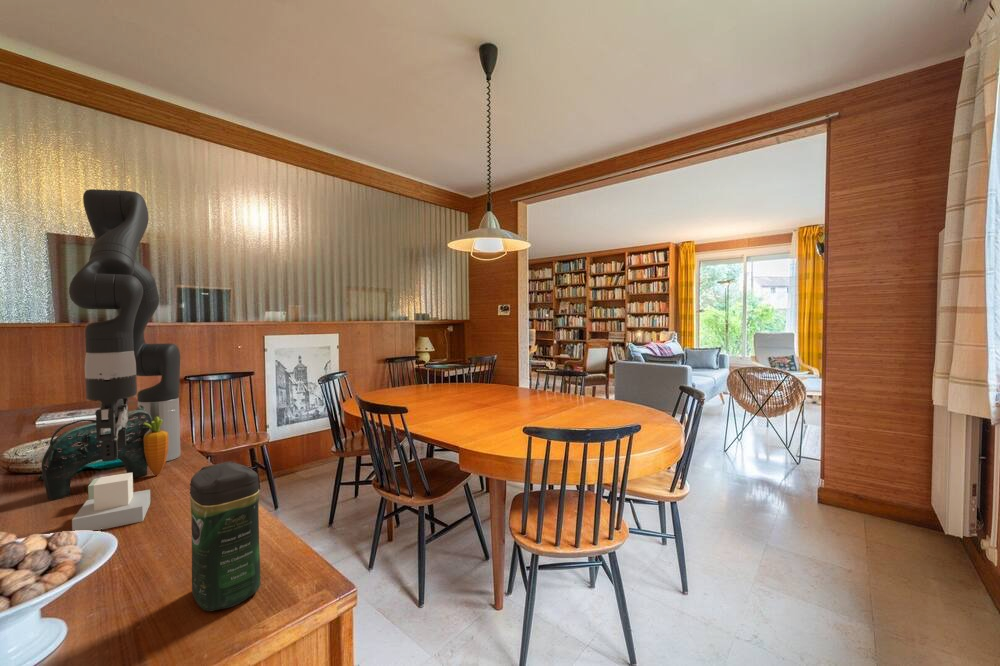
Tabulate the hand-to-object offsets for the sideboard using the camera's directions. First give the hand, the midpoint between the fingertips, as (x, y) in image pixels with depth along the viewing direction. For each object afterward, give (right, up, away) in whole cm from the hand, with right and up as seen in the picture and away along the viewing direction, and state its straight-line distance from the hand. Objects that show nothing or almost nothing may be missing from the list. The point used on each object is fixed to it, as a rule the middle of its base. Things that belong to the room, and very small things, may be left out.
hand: (114, 454), depth 84 cm
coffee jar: (+38, -14, -23) cm, 46 cm away
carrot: (-10, -13, +23) cm, 28 cm away
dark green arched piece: (-18, -13, +17) cm, 28 cm away
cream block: (0, -10, 0) cm, 10 cm away
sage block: (-9, -13, +8) cm, 17 cm away
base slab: (0, -13, 0) cm, 13 cm away
